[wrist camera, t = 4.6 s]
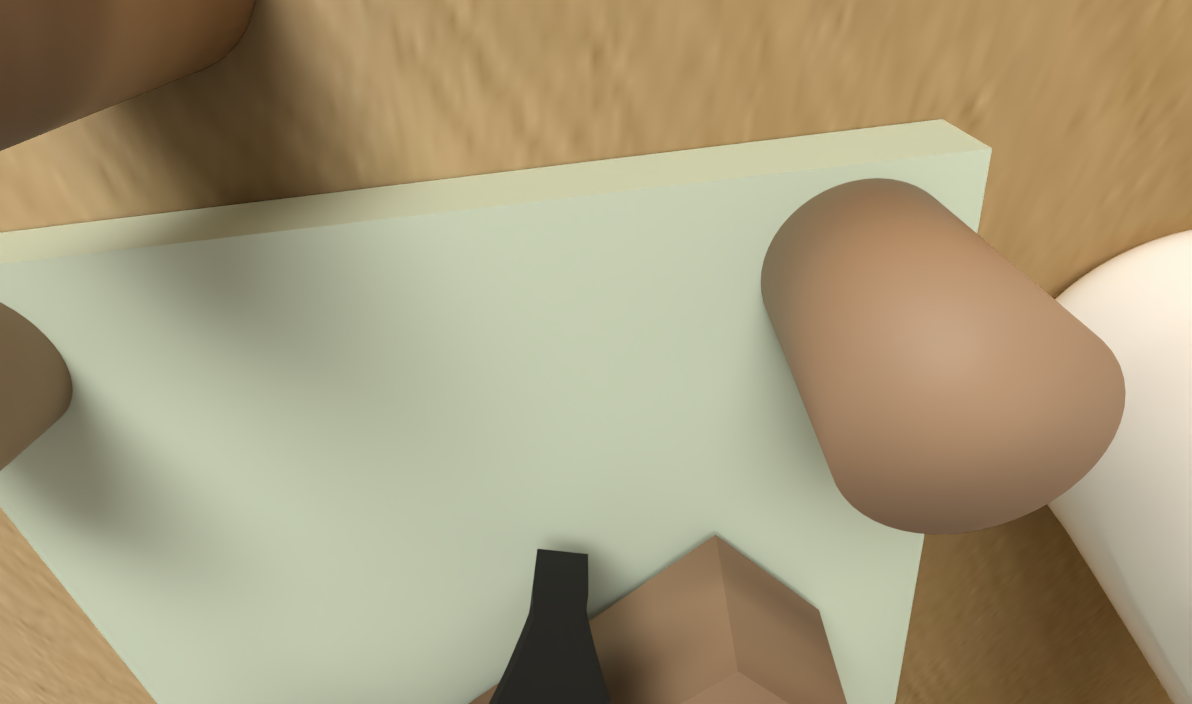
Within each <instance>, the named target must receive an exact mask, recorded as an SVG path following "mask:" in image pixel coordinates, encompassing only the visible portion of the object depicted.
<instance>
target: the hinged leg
mask: <svg viewBox="0 0 1192 704" xmlns="http://www.w3.org/2000/svg"><path fill="white" fill-rule="evenodd" d="M589 625H590V629H591V633H592V637H593V641H594V645H595V649H596V653H597V656H598V660H599V663H600V667H601V670H602V674H603V677H604V681H605V684H606V687H607V691H608V694H609V697H610V700H611V703H612V704H847V702H846V699H845V695H844V692H843V689H842V685H841V682H840V679H839V675H838V672H837V669H836V665H835V662H834V659H833V655H832V652H831V649H830V645H829V642H828V638H827V635H826V632H825V628H824V625H823V622H822V618H821V615H820V612H819V610H818V609H817V608H816V607H814V606H813V605H811V604H810V603H809V602H807V601H806V600H805V599H803V598H802V597H800V596H799V595H798V594H796V593H795V592H794V591H792V590H791V589H789V588H788V587H787V586H785V585H784V584H783V583H781V582H780V581H778V580H777V579H776V578H774V577H773V576H772V575H770V574H769V573H767V572H766V571H765V570H763V569H762V568H761V567H759V566H758V565H756V564H755V563H754V562H752V561H751V560H750V559H748V558H747V557H745V556H744V555H743V554H741V553H740V552H739V551H737V550H736V549H734V548H733V547H732V546H730V545H729V544H728V543H726V542H725V541H723V540H722V539H721V538H719V537H718V536H717V535H714V536H713V537H711V538H710V539H708V540H707V541H706V542H704V543H703V544H701V545H700V546H698V547H697V548H695V549H694V550H692V551H691V552H689V553H688V554H687V555H685V556H684V557H682V558H681V559H679V560H678V561H676V562H675V563H673V564H672V565H670V566H669V567H668V568H666V569H665V570H663V571H662V572H660V573H659V574H657V575H656V576H654V577H653V578H651V579H650V580H648V581H647V582H646V583H644V584H643V585H641V586H640V587H638V588H637V589H635V590H634V591H632V592H631V593H629V594H628V595H627V596H625V597H624V598H622V599H621V600H619V601H618V602H616V603H615V604H613V605H612V606H610V607H609V608H608V609H606V610H605V611H603V612H602V613H600V614H599V615H597V616H596V617H594V618H593V619H591V620H590V621H589ZM498 684H499V683H498ZM498 684H496V685H495V686H493V687H492V688H491V689H489V690H488V691H486V692H485V693H483V694H482V695H480V696H479V697H477V698H476V699H474V700H473V701H472V702H470V703H469V704H489V702H490V700H491V698H492V696H493V694H494V692H495V690H496V688H497V686H498Z"/></svg>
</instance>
